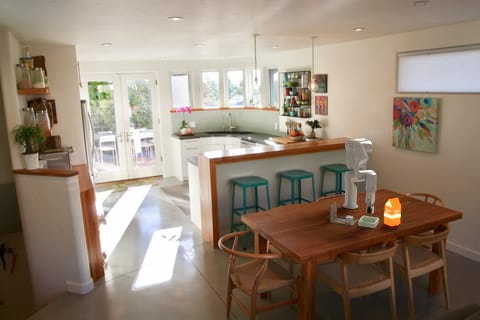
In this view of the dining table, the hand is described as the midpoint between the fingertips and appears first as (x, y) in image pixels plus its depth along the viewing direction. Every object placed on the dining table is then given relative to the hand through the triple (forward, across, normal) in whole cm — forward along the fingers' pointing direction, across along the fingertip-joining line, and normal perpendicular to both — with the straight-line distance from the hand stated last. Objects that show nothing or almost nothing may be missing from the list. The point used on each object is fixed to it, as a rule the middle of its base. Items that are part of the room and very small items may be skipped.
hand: (370, 212), depth 297 cm
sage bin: (+9, +2, 0) cm, 10 cm away
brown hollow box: (+9, +6, -18) cm, 21 cm away
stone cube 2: (+9, +6, -14) cm, 17 cm away
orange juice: (+10, -8, +15) cm, 19 cm away
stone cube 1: (0, 0, 0) cm, 0 cm away
